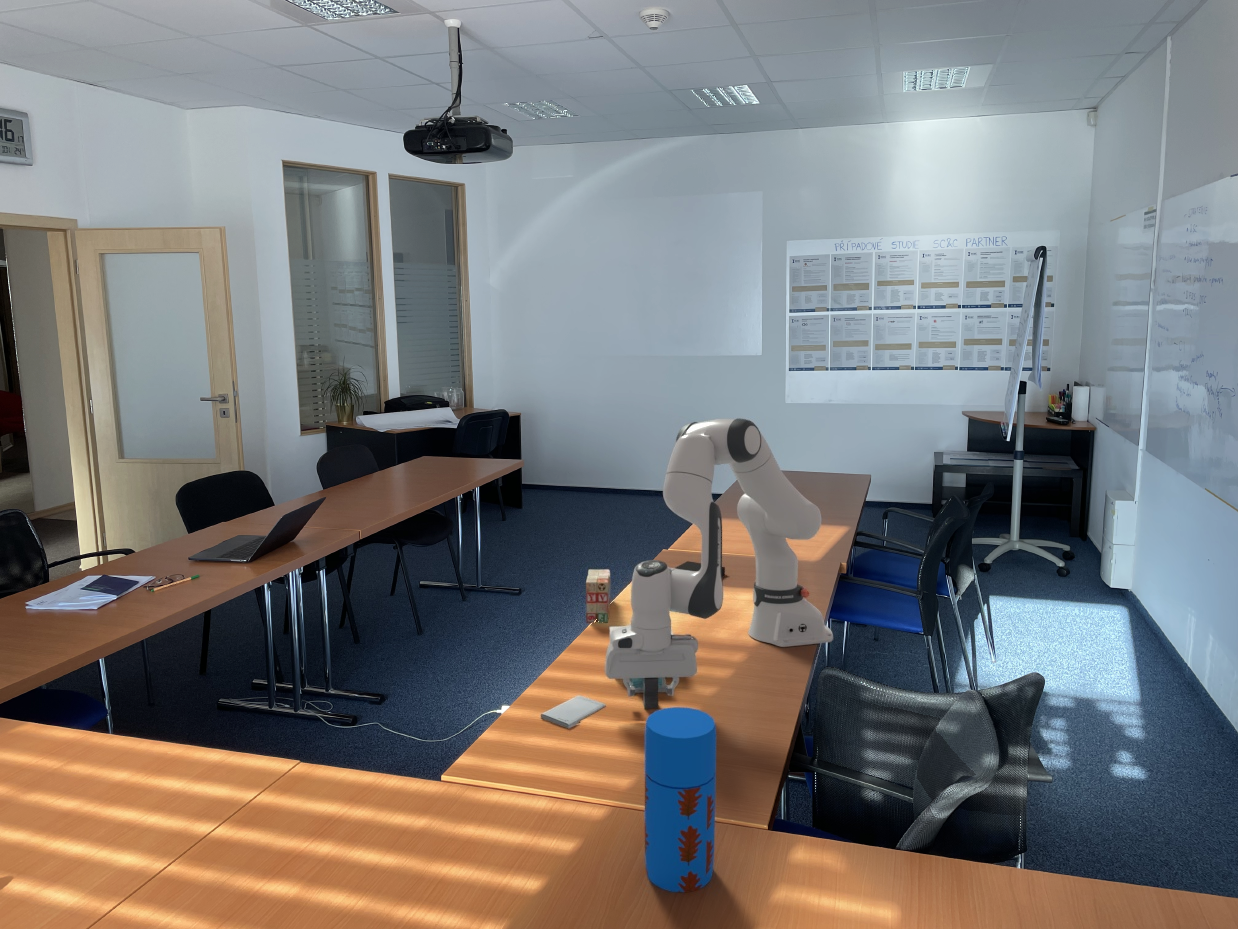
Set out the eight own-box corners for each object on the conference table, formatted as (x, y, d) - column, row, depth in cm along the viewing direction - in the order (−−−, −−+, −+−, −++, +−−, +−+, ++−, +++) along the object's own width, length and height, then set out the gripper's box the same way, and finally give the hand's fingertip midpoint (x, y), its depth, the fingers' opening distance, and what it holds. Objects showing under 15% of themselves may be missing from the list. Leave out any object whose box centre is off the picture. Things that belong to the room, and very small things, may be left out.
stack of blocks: (590, 599, 271) (590, 560, 269) (610, 599, 271) (610, 560, 269) (586, 623, 250) (585, 581, 248) (608, 623, 250) (608, 581, 248)
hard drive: (568, 724, 186) (605, 703, 196) (540, 713, 191) (577, 693, 201) (568, 731, 186) (605, 710, 196) (540, 720, 191) (578, 700, 201)
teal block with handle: (661, 671, 215) (661, 644, 213) (671, 708, 194) (671, 678, 193) (624, 672, 214) (624, 644, 213) (630, 709, 194) (630, 679, 193)
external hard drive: (654, 587, 284) (654, 578, 283) (686, 569, 303) (687, 561, 303) (693, 594, 276) (694, 585, 276) (724, 575, 296) (725, 567, 295)
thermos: (641, 852, 144) (641, 707, 139) (706, 848, 144) (708, 705, 140) (649, 895, 133) (649, 740, 129) (719, 891, 134) (722, 737, 130)
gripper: (696, 629, 197) (695, 687, 199) (604, 631, 195) (604, 690, 198) (700, 639, 190) (699, 699, 193) (605, 641, 189) (605, 702, 192)
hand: (650, 695), depth 195 cm, fingers open, 7 cm apart
